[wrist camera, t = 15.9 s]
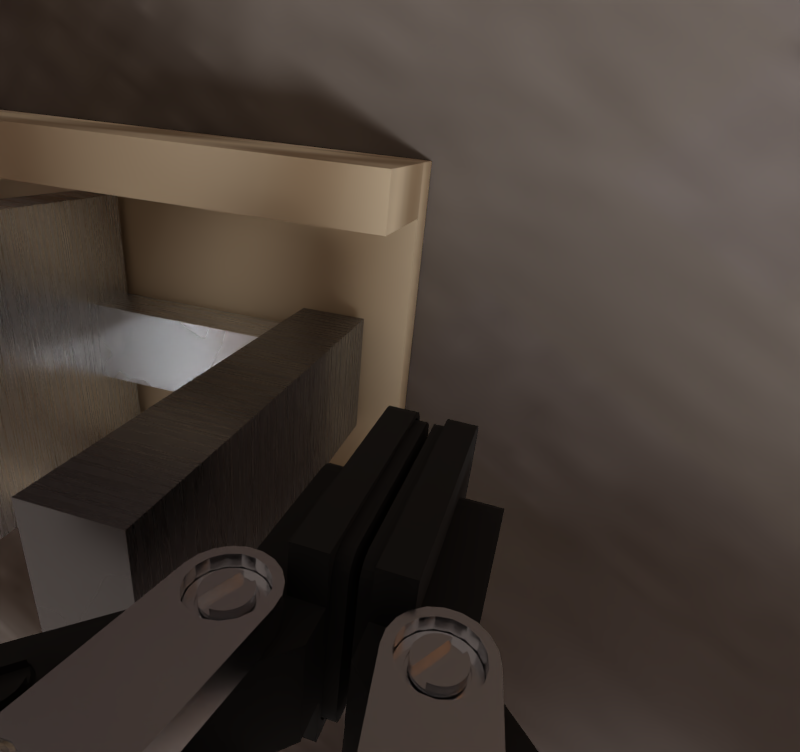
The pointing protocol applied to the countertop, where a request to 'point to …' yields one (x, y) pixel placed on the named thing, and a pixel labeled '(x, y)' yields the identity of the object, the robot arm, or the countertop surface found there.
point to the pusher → (146, 412)
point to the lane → (248, 229)
